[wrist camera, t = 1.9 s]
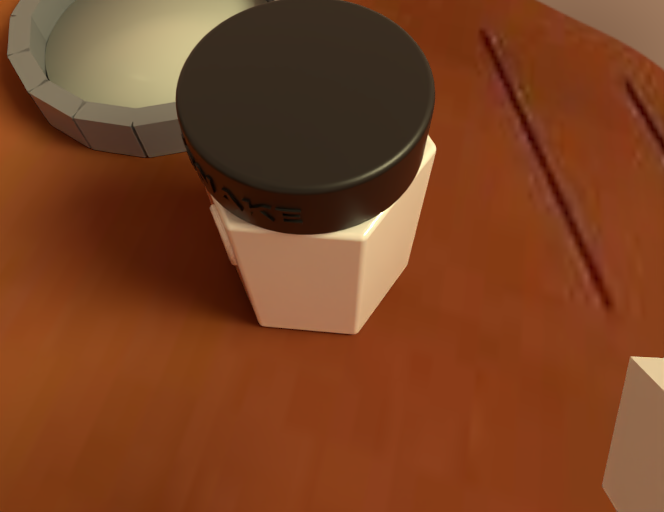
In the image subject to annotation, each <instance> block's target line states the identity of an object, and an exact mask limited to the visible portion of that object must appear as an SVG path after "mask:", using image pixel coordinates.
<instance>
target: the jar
mask: <svg viewBox="0 0 664 512" xmlns="http://www.w3.org/2000/svg"><path fill="white" fill-rule="evenodd" d="M175 101H176V112H177V117H178V121H179V125H180V129H181V133H182V134H181V136H182V139H183V142H184V145H185V148H186V150H187V153H188V156H189V158H190V161H191V163H192V165H193V167H194V169H195V170H196V171H197V172H198V175H199V177H200V179H201V181H202V182H203V184H204V187H205V189H206V192H207V195H208V197H209V200H210V203H211V206H210V211H211V214H212V217H213V219H214V221H215V224H216V227H217V229H218V231H219V234H220V237H221V239H222V242H223V244H224V247H225V249H226V252H227V255H228V257H229V259H230V261H231V264H232V265H235V267H236V270H237V272H238V275H239V277H240V279H241V282H242V284H243V287H244V289H245V291H246V294H247V296H248V299H249V301H250V303H251V306H252V308H253V311H254V313H255V315H256V318H257V320H258V322H259V324H260V325H261V326H265V327H276V328H287V329H298V330H310V331H321V332H332V333H343V334H357V333H358V332H359V331H360V329H361V328H362V326H363V325H364V324H365V322H366V321H367V320H368V318H369V317H370V315H371V314H372V313H373V311H374V310H375V308H376V307H377V306H378V304H379V303H380V302H381V300H382V299H383V297H384V296H385V295H386V293H387V292H388V291H389V289H390V288H391V286H392V285H393V284H394V282H395V281H396V280H397V278H398V277H399V275H400V274H401V273H402V271H403V270H404V269H405V267H406V266H407V264H408V260H409V256H410V252H411V248H412V244H413V240H414V236H415V232H416V228H417V224H418V220H419V216H420V212H421V208H422V204H423V200H424V196H425V192H426V189H427V185H428V181H429V177H430V173H431V169H432V165H433V161H434V157H435V153H436V146H435V144H434V143H433V141H432V140H431V138H430V137H429V135H428V132H429V128H430V123H431V119H432V114H433V110H434V103H435V87H434V79H433V75H432V71H431V68H430V66H429V63H428V61H427V59H426V57H425V55H424V53H423V52H422V50H421V49H420V47H419V46H418V45H417V43H416V42H415V41H414V40H413V38H412V37H411V36H410V35H409V34H408V33H407V32H406V31H405V30H403V29H402V28H401V27H400V26H399V25H397V24H396V23H394V22H393V21H391V20H390V19H389V18H387V17H385V16H383V15H381V14H380V13H378V12H375V11H373V10H371V9H369V8H366V7H363V6H361V5H358V4H354V3H350V2H346V1H342V0H276V1H271V2H267V3H263V4H260V5H257V6H254V7H251V8H248V9H246V10H244V11H241V12H239V13H237V14H235V15H233V16H231V17H229V18H228V19H226V20H225V21H223V22H221V23H220V24H218V25H217V26H216V27H215V28H213V29H212V30H211V31H210V32H208V33H207V34H206V35H205V36H204V37H203V38H202V39H201V40H200V41H199V42H198V43H197V45H196V46H195V47H194V49H193V50H192V51H191V53H190V54H189V56H188V58H187V59H186V61H185V63H184V65H183V67H182V70H181V72H180V75H179V78H178V82H177V87H176V98H175Z"/></svg>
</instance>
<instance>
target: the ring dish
mask: <svg viewBox="0 0 664 512" xmlns="http://www.w3.org/2000/svg"><path fill="white" fill-rule="evenodd" d="M271 1H276V0H20V2H19V3H18V5H17V6H16V8H15V9H14V11H13V12H12V14H11V16H12V17H10V25H9V37H8V50H7V55H8V58H9V60H10V62H11V64H12V65H13V67H14V69H15V70H16V72H17V74H18V76H19V77H20V79H21V81H22V83H23V84H24V86H25V88H26V90H27V91H28V93H29V94H30V96H31V97H32V99H33V100H34V102H35V103H36V104H37V106H38V107H39V109H40V110H41V112H42V113H43V115H44V116H45V118H46V119H47V120H48V122H49V123H50V124H51V125H52V126H53V127H55V128H57V129H58V130H60V131H62V132H63V133H65V134H67V135H68V136H70V137H72V138H73V139H75V140H77V141H78V142H80V143H82V144H83V145H85V146H87V147H88V148H90V149H91V148H92V149H93V150H99V151H105V152H112V153H118V154H125V155H132V156H138V157H145V158H146V156H147V155H148V157H149V158H150V157H155V156H161V155H167V154H173V153H179V152H185V151H187V150H186V148H185V145H184V142H183V139H182V136H181V134H182V133H181V129H180V125H179V121H178V117H177V112H176V101H175V98H176V87H177V82H178V78H179V75H180V72H181V70H182V67H183V65H184V63H185V61H186V59H187V58H188V56H189V54H190V53H191V51H192V50H193V49H194V47H195V46H196V45H197V43H198V42H199V41H200V40H201V39H202V38H203V37H204V36H205V35H206V34H207V33H208V32H210V31H211V30H212V29H213V28H215V27H216V26H217V25H218V24H220V23H221V22H223V21H225V20H226V19H228V18H229V17H231V16H233V15H235V14H237V13H239V12H241V11H244V10H246V9H248V8H251V7H254V6H257V5H260V4H263V3H267V2H271Z"/></svg>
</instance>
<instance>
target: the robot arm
mask: <svg viewBox="0 0 664 512" xmlns="http://www.w3.org/2000/svg"><path fill="white" fill-rule="evenodd" d="M602 487H603V489H604V490H605V492H606V494H607V495H608V497H609V499H610V501H611V502H612V504H613V506H614V507H615V509H616V511H617V512H664V358H650V357H631V356H630V360H629V365H628V369H627V374H626V379H625V383H624V388H623V392H622V397H621V401H620V406H619V410H618V415H617V420H616V424H615V429H614V433H613V438H612V442H611V447H610V451H609V456H608V461H607V465H606V470H605V474H604V479H603V483H602Z"/></svg>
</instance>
